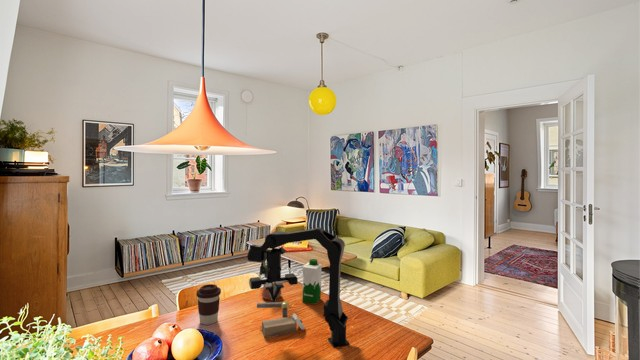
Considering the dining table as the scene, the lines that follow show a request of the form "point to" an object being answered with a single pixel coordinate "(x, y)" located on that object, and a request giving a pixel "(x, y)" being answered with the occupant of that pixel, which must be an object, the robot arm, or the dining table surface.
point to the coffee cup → (208, 303)
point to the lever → (273, 305)
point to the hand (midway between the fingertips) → (273, 302)
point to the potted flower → (266, 293)
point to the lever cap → (298, 321)
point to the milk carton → (311, 282)
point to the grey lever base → (279, 325)
